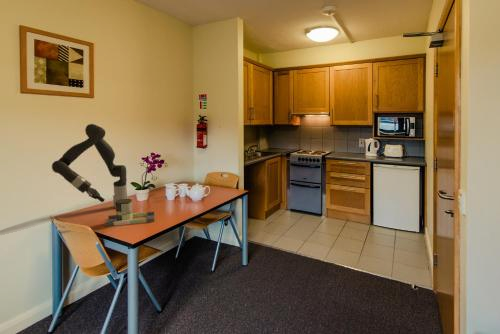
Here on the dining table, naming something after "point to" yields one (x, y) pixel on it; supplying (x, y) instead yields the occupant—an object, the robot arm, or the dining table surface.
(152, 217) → the push track
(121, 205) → the coffee can
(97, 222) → the dining table surface
